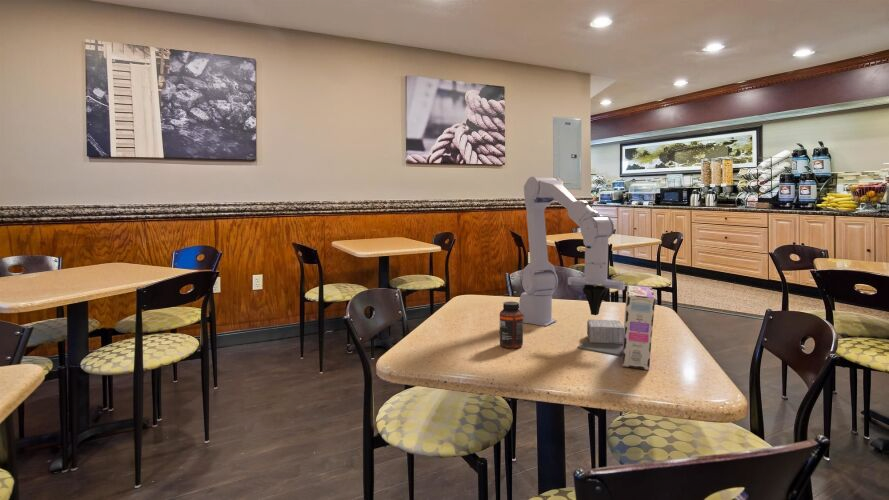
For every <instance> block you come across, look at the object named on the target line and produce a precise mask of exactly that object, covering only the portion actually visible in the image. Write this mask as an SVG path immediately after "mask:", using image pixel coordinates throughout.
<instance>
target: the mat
mask: <svg viewBox="0 0 889 500" xmlns="http://www.w3.org/2000/svg"><path fill="white" fill-rule="evenodd" d="M576 349H579V350H585V351H592V352H597V353H602V354H607V355H612V356H613V355H614V356H619V357H623V344H613V343H590V342H589V339H587V340H586V341H584V342H583V343H581V344H580V345H578V346H577V347H576Z"/></svg>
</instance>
